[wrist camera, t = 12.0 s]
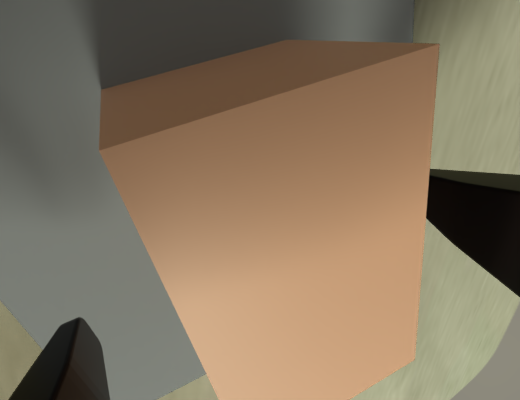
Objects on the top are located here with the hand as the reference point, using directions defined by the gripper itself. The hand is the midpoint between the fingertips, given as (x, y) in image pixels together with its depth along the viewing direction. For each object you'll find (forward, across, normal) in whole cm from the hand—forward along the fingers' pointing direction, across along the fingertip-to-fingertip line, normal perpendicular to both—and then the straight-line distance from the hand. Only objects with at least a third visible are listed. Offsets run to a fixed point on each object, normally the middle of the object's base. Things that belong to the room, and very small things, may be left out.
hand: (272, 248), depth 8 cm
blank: (+3, 0, 0) cm, 3 cm away
